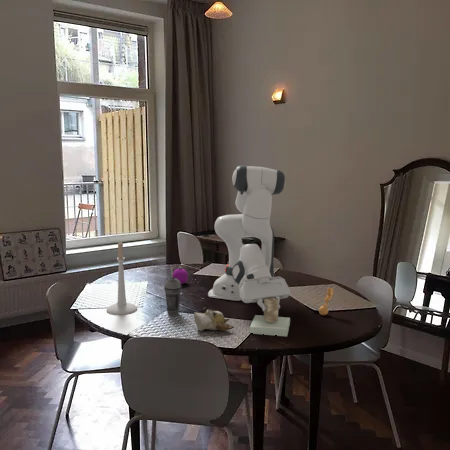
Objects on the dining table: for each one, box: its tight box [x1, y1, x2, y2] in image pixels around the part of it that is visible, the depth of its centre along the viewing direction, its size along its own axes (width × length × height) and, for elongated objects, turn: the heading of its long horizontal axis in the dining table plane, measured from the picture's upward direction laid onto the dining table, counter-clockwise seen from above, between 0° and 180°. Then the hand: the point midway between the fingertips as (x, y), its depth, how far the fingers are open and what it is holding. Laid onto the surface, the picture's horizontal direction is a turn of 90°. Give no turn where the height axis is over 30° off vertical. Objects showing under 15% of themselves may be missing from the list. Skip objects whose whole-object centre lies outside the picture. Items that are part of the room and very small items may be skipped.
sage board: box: [249, 314, 291, 337], centre depth 188 cm, size 14×14×3 cm
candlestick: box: [106, 241, 138, 316], centre depth 206 cm, size 13×13×30 cm
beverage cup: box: [164, 266, 182, 317], centre depth 202 cm, size 7×7×20 cm
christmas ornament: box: [172, 264, 189, 285], centre depth 250 cm, size 8×8×10 cm
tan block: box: [263, 298, 279, 322], centre depth 187 cm, size 4×4×8 cm
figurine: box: [318, 286, 335, 316], centre depth 203 cm, size 8×6×12 cm
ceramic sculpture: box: [193, 308, 235, 332], centre depth 186 cm, size 11×9×15 cm
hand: (271, 309), depth 186 cm, fingers closed on tan block, 4 cm apart
